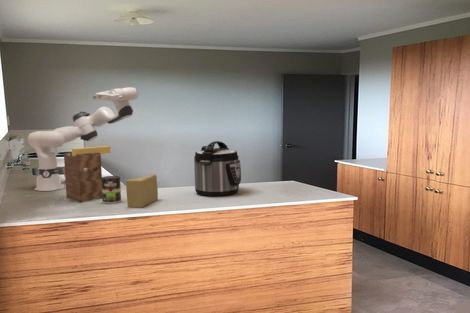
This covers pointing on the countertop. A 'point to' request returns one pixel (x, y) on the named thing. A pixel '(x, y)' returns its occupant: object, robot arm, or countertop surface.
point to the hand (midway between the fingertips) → (96, 98)
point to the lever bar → (91, 150)
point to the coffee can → (111, 189)
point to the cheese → (141, 191)
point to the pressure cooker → (217, 170)
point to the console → (83, 176)
